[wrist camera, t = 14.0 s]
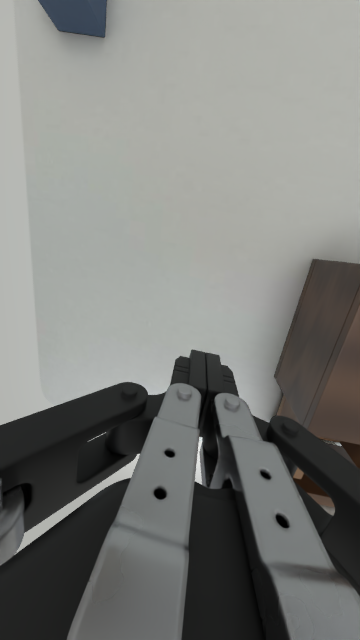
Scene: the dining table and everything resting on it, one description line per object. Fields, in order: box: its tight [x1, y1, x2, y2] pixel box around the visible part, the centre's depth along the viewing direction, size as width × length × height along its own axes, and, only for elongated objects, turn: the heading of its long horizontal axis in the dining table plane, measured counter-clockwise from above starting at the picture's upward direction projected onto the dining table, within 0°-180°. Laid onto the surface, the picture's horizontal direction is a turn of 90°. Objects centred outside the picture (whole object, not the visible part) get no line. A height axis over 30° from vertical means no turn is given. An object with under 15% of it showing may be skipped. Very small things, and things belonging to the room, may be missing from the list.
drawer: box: [276, 395, 360, 515], centre depth 26 cm, size 18×10×8 cm, turn 171°
